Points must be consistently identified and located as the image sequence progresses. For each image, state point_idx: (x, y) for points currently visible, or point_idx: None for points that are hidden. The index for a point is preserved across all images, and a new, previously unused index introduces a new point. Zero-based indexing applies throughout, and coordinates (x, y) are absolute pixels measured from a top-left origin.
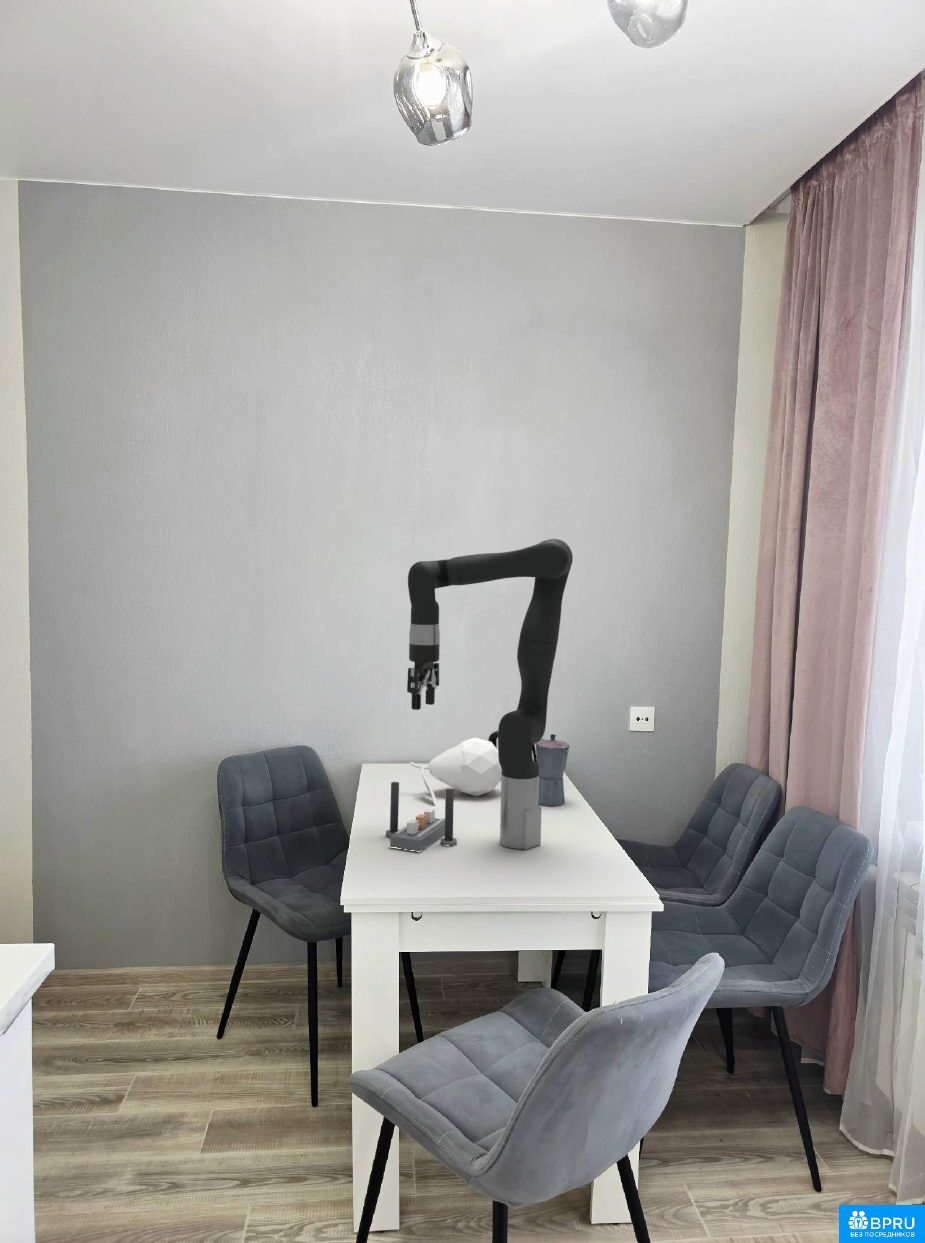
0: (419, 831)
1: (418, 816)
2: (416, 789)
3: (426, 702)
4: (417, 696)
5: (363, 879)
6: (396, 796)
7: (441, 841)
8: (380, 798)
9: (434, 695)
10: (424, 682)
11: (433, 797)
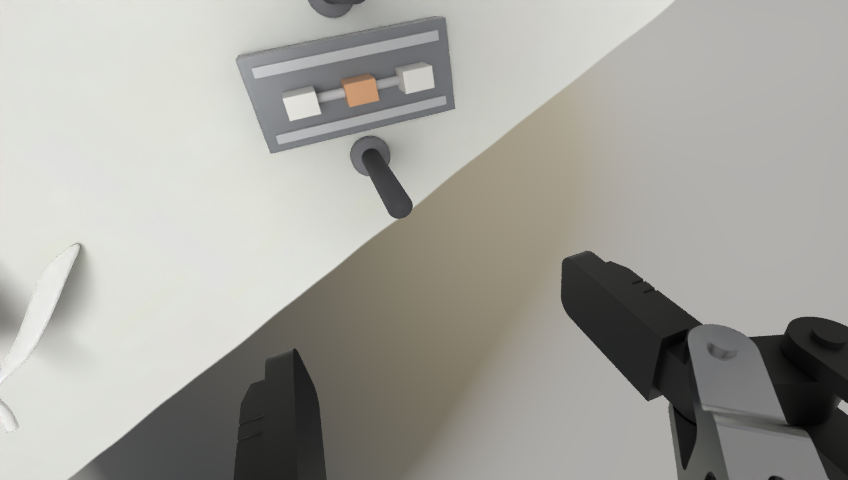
0: (385, 69)
1: (370, 96)
2: None
3: (315, 401)
4: (692, 325)
5: (619, 23)
6: (395, 181)
7: (351, 4)
8: (166, 363)
9: (270, 425)
10: (797, 464)
11: (67, 262)
